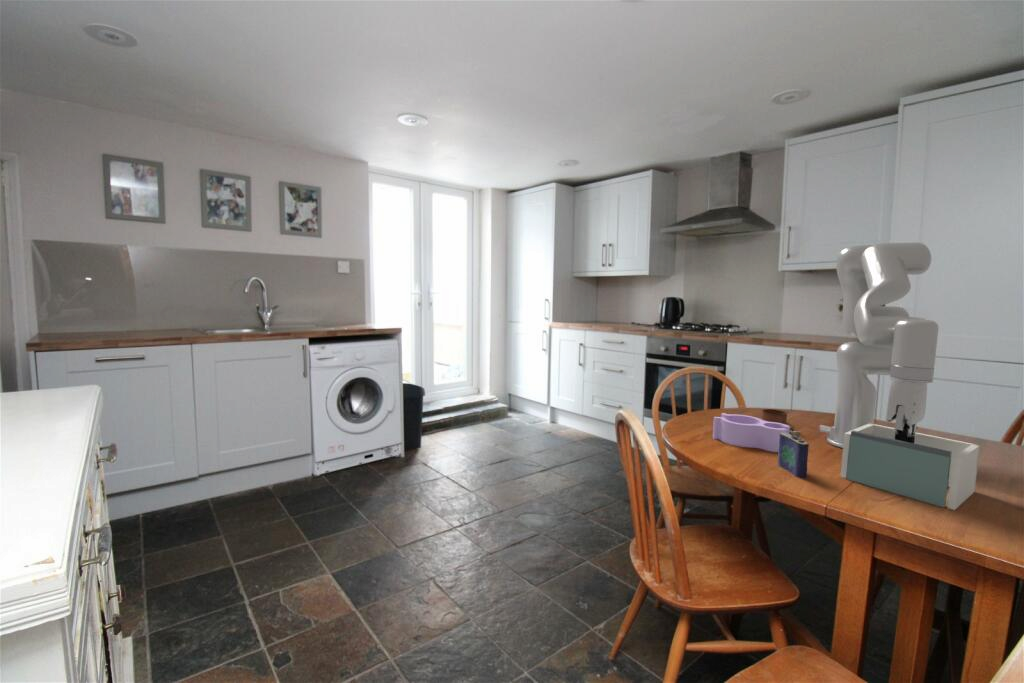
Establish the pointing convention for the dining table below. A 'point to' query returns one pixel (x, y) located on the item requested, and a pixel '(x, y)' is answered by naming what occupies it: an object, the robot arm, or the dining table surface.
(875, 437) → the panel
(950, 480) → the teal front storage box
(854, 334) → the robot arm
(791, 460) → the flask
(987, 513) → the dining table surface
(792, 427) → the cup and saucer
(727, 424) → the purple cup holder
